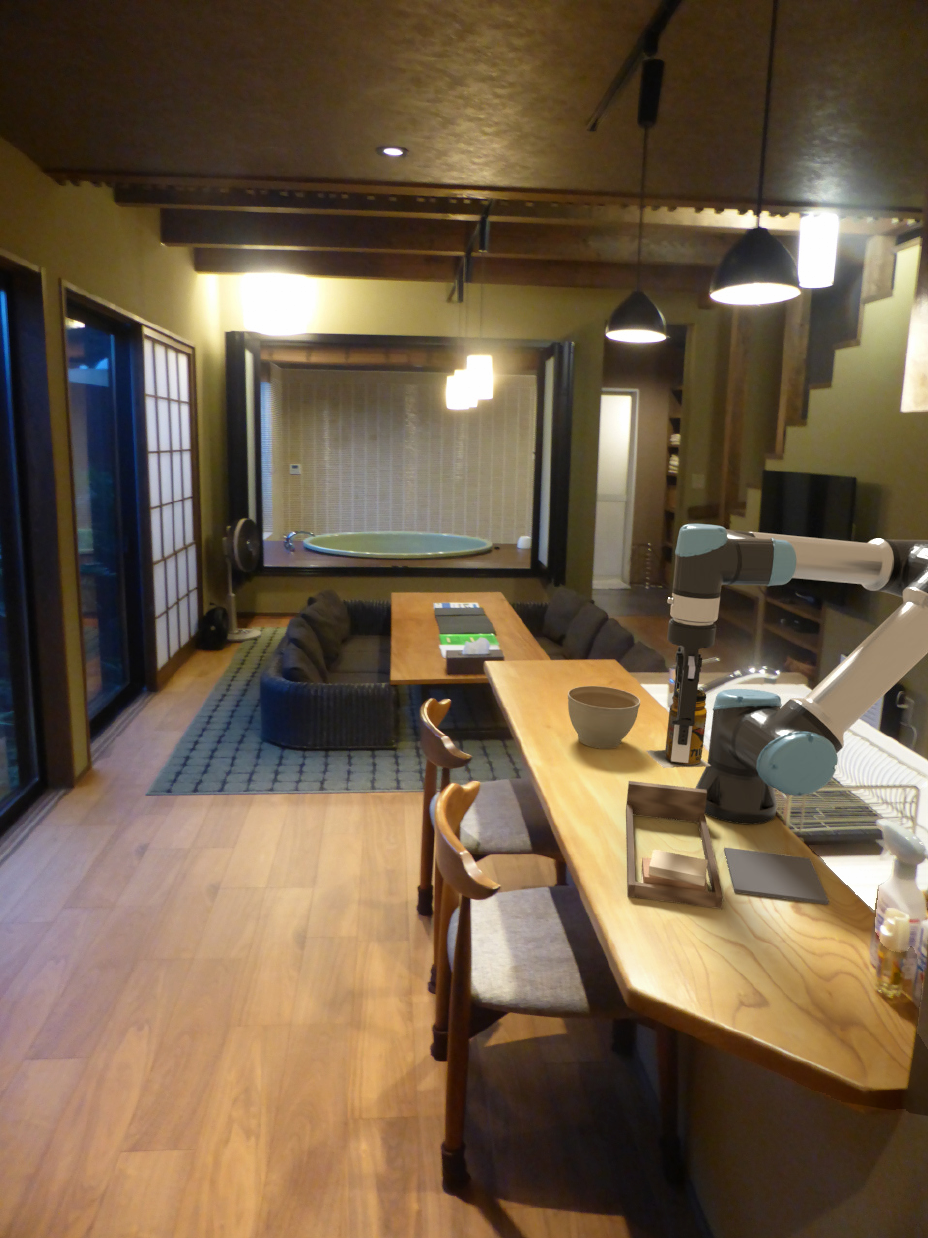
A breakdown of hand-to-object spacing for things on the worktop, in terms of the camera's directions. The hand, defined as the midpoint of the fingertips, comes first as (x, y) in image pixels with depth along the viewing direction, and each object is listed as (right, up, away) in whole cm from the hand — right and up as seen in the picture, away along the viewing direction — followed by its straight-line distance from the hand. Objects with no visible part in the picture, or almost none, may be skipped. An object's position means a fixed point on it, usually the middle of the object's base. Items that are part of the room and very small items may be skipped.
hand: (678, 753), depth 148 cm
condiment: (0, -1, 0) cm, 1 cm away
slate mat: (+14, -19, -5) cm, 24 cm away
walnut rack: (-2, -17, 0) cm, 17 cm away
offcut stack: (-3, -20, -10) cm, 22 cm away
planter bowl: (-5, -5, +51) cm, 52 cm away
